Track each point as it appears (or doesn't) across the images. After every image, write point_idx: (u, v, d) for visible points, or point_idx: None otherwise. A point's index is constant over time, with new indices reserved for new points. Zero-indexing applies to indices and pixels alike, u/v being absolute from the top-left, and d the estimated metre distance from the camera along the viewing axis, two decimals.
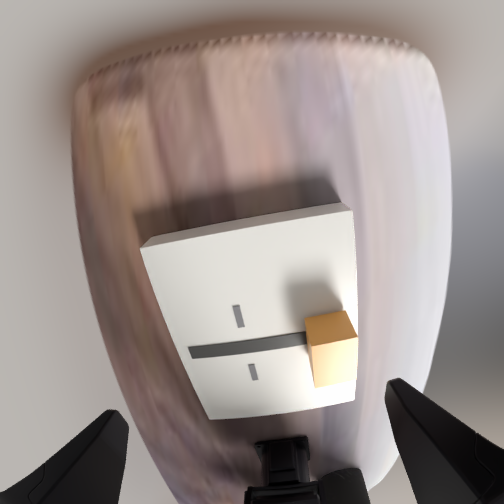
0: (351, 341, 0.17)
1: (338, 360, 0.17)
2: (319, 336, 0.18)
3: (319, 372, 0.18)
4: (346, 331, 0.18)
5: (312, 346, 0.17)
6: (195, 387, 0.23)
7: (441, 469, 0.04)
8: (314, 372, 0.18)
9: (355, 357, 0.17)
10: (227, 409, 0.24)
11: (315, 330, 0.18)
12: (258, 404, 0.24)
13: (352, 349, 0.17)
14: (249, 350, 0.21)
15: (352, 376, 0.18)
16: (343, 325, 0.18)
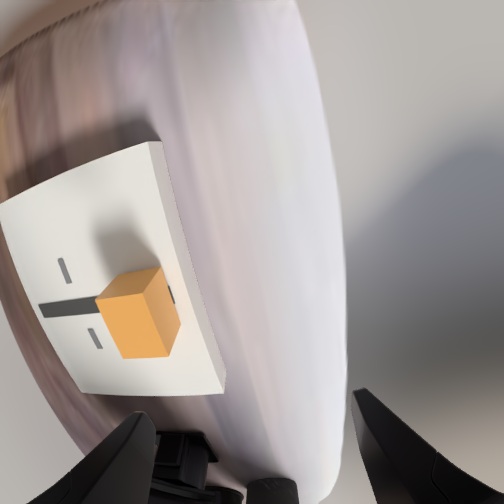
0: (136, 298, 0.13)
1: (132, 323, 0.14)
2: (110, 291, 0.14)
3: (117, 336, 0.14)
4: (138, 287, 0.14)
5: (96, 300, 0.14)
6: (57, 351, 0.20)
7: (396, 487, 0.04)
8: (112, 336, 0.14)
9: (151, 323, 0.14)
10: (91, 382, 0.21)
11: (114, 285, 0.15)
12: (115, 380, 0.20)
13: (142, 310, 0.14)
14: (83, 311, 0.18)
15: (160, 351, 0.15)
16: (142, 281, 0.15)
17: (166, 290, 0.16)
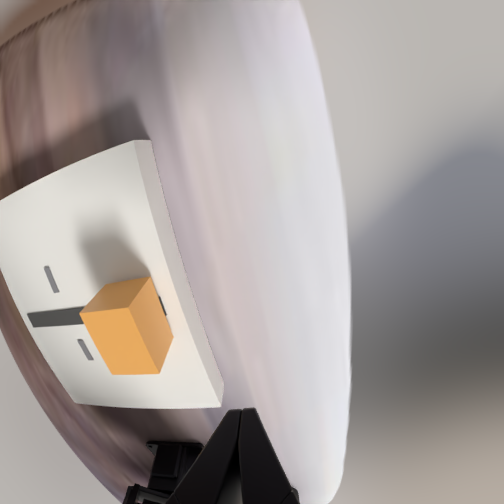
0: (122, 312, 0.12)
1: (119, 339, 0.13)
2: (96, 303, 0.13)
3: (104, 351, 0.13)
4: (124, 300, 0.13)
5: (80, 313, 0.12)
6: (48, 361, 0.18)
7: None
8: (100, 351, 0.13)
9: (139, 339, 0.12)
10: (84, 392, 0.19)
11: (100, 297, 0.13)
12: (108, 392, 0.19)
13: (129, 325, 0.12)
14: (72, 321, 0.17)
15: (150, 367, 0.13)
16: (129, 293, 0.13)
17: (156, 301, 0.15)
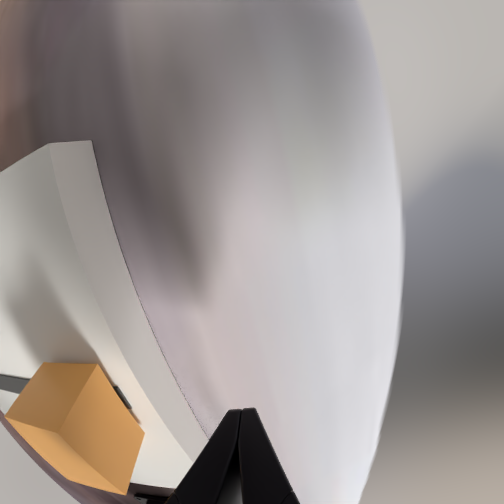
0: (53, 435, 0.05)
1: (61, 456, 0.06)
2: (24, 403, 0.06)
3: (49, 460, 0.06)
4: (56, 411, 0.06)
5: (6, 417, 0.06)
6: None
7: None
8: (44, 457, 0.06)
9: (87, 465, 0.06)
10: None
11: (31, 390, 0.07)
12: None
13: (68, 450, 0.06)
14: (21, 390, 0.10)
15: (112, 489, 0.07)
16: (64, 396, 0.07)
17: (112, 398, 0.08)
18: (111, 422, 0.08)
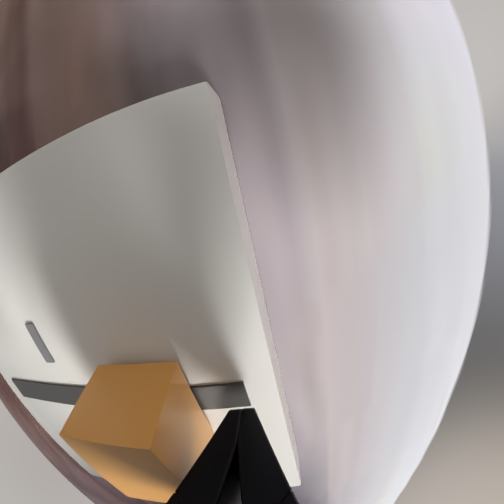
0: (138, 453, 0.05)
1: (135, 474, 0.06)
2: (85, 416, 0.06)
3: (112, 479, 0.06)
4: (137, 423, 0.06)
5: (62, 435, 0.05)
6: (50, 434, 0.11)
7: None
8: (104, 476, 0.06)
9: (174, 480, 0.06)
10: None
11: (90, 399, 0.07)
12: None
13: (154, 467, 0.05)
14: None
15: None
16: (143, 403, 0.06)
17: (190, 399, 0.08)
18: (191, 426, 0.08)
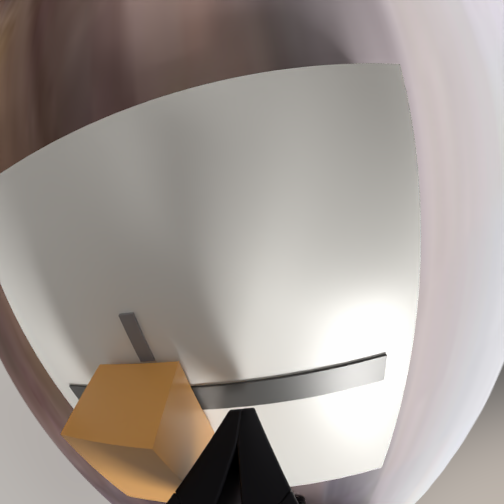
0: (140, 452, 0.05)
1: (137, 474, 0.06)
2: (87, 416, 0.06)
3: (113, 478, 0.06)
4: (139, 422, 0.06)
5: (63, 434, 0.05)
6: None
7: None
8: (105, 476, 0.06)
9: (175, 479, 0.06)
10: None
11: (92, 399, 0.07)
12: None
13: (155, 466, 0.05)
14: None
15: None
16: (145, 403, 0.06)
17: (191, 399, 0.08)
18: (192, 426, 0.08)
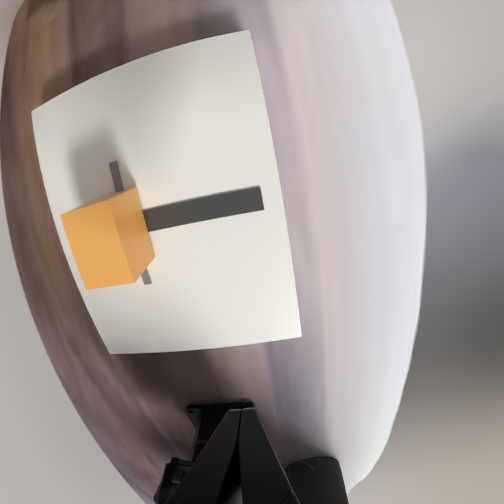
0: (102, 207, 0.11)
1: (96, 240, 0.12)
2: (78, 207, 0.12)
3: (80, 259, 0.12)
4: (106, 198, 0.12)
5: (61, 215, 0.12)
6: (84, 297, 0.17)
7: None
8: (76, 260, 0.12)
9: (116, 238, 0.12)
10: (126, 336, 0.18)
11: (83, 204, 0.13)
12: (161, 330, 0.18)
13: (107, 222, 0.12)
14: None
15: (126, 275, 0.13)
16: (112, 195, 0.13)
17: (140, 213, 0.14)
18: (137, 225, 0.14)
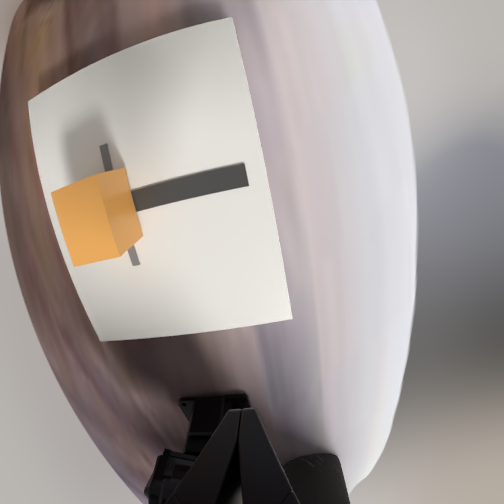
0: (89, 181, 0.11)
1: (83, 215, 0.12)
2: None
3: (68, 236, 0.12)
4: None
5: (52, 192, 0.12)
6: (74, 282, 0.17)
7: None
8: (64, 237, 0.12)
9: (103, 211, 0.12)
10: (115, 322, 0.18)
11: None
12: (150, 313, 0.18)
13: (94, 196, 0.12)
14: None
15: (111, 249, 0.13)
16: None
17: (128, 192, 0.14)
18: (124, 203, 0.14)
